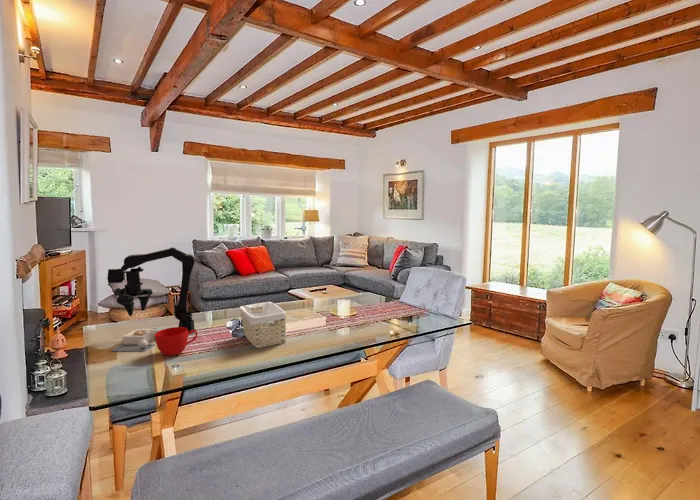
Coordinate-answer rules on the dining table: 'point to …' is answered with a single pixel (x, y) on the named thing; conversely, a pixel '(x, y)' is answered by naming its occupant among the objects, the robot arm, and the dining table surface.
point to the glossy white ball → (143, 344)
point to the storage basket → (264, 324)
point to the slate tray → (132, 348)
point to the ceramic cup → (173, 340)
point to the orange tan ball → (138, 333)
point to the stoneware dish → (135, 339)
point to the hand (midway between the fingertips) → (137, 313)
